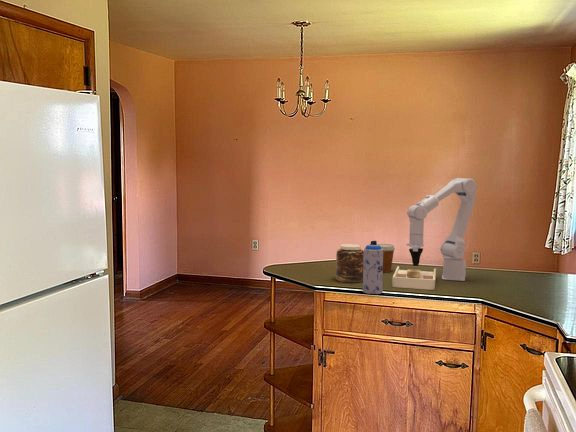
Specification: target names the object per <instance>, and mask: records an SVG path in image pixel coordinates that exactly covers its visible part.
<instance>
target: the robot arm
mask: <svg viewBox="0 0 576 432" xmlns="http://www.w3.org/2000/svg"><path fill="white" fill-rule="evenodd" d="M477 188H478V184H476V181H475V180H474V179H473V178H470V177H469V178H464V177H462V178H461V177H455V178H453V179H452V180H450V181H449V182H448V184H446V185H445V186H444V187H442V188H441V189H440V190H439V191H437V192H436V193H435V194H429V195H428V194H427V195H425V198H423V199H422V200H420V201H418V202H417V203H416V204H415V205H411V206H410V207H409V208H408V210H407V212H406V214H407V217H408V218H409V219H408V221H409V238H408V239H409V243H406V244H405V245H406V246H407V247H410V248H409V249H408V250H409V251H408V252H409V253H410V256H411V261H412V265H413V267H418V266H419V265H420V259H421V256H422V253H423V251H424V248H423V247H424V246H425V245H424V227H425V225H424V223H425V222H424V221H425V219H426V217H427V216H428V214H429V213H430V212H431V211H433V210H434V209H436V208H437V207H438V206H439V202H440V201H442V200H444V199H446V198H447V197H449V196H450V195H452V194H454V193H455V195H457V196H458V197H459V199H460V204H459V208H458V211H457V213H456V216H455V219H454V223H453V225H452V228H451V231H450V234H449V235H448V236H447V237H446V238H445V239H444V241H443V243H442V244H441V245H440V253H441V255H442V258H443V263H442V264H443V266H442V267H443V269H442V275H441V280H444V281H445V280H446V281H447V280H448V281H461V282H465V281H466V276H467V272H466V267H467V266H466V263H467V262H466V261H467V260H466V259H465V258H464V256H465V254H466V249H465V248H466V245H467V244H466V242H465V240H464V236H465V233H466V232H467V227H468V224H469V222H470V219H471V215H472V212H473V210H474V207H475V204H476V198H477V197H476V196H477V195H476V194H477V193H476V192H477Z"/></svg>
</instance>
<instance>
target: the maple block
mask: <svg viewBox="0 0 576 432" xmlns="http://www.w3.org/2000/svg"><path fill="white" fill-rule="evenodd" d="M406 270H407V278H417V279H420V271H421V269H413V268H412V269H411V268H408V269H406Z"/></svg>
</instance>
